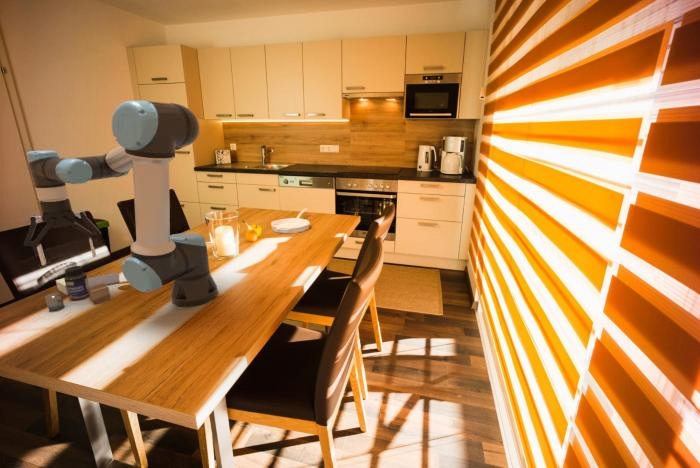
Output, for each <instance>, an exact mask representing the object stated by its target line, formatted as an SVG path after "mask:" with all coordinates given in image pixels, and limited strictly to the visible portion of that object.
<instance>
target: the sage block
mask: <svg viewBox="0 0 700 468" xmlns="http://www.w3.org/2000/svg"><path fill="white" fill-rule="evenodd" d="M64 278H65V277H62V278H60V279H56V280H55V283H56V287H57V290H58V291H59V292H60V293H61V292H62V293H63V294H64V295H66V296H69V295H68V291H67V287H66V283H65V280H64Z"/></svg>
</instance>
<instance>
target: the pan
mask: <svg viewBox="0 0 700 468" xmlns="http://www.w3.org/2000/svg"><path fill="white" fill-rule="evenodd" d="M308 210H309V209H308V208H303V209H302V210H301V211H300V212H299V213H298V215H297V216H296V217H290V218H282V219H278V220H273V221H271V222H270V225H271V230H272V231H273V232H274V233H278V234H287V235H289V234H298V233H302V232H305V231H307V230H309V228H310V225H311V223H310V221H309V220H308V219H304V218H301V216H302V215H303V213H305V212H307V211H308Z"/></svg>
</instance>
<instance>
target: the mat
mask: <svg viewBox="0 0 700 468" xmlns="http://www.w3.org/2000/svg"><path fill="white" fill-rule="evenodd" d="M119 275H120V274H119V272H112V273H108V274H103V275H98V276H92V277H87V279H88V283H89V287H92V286H95V285H99V284H102V283H105V284H106V285H107V286H108V287H109V286H111V285H112V286H113V285H117V284H120V276H119Z"/></svg>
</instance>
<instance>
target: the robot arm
mask: <svg viewBox="0 0 700 468" xmlns="http://www.w3.org/2000/svg"><path fill="white" fill-rule="evenodd" d="M111 133H112V135H113V136H114V137H115V138H116V139H115V142H116V143H118V145H119V146H117V147H116V148H114V149H112V150H110V151H108V152H107V153H104V154H102V155H95V156H94V155H93V156H79V157H63V158H62V157H60V155H59V153H58V152H57V151H55V150H46V149H45V150H44V149H43V150H31V151H28V152H27V153H26V158H27V166H28V168H29V171H30V174H31V178H32V182H33V184H34V187H35V188H34V189H35V192H36V195H37V199H38V200H39V205H40V210H41V212H42V213H41V214H42V215H31V216H30V218H29V220H30V224H29V225H30V226H29V227H28V231H27V233H26V235H25V239H24V241H23V244H22V245H23V246H24V247H31V248H32V250H33V254H34V256H35V257H38V256H39V259H40V263H41V265H42V266H46V264H47V260H46V257H45V254H44V250H43V246H42V244H41V243H40V242H41V240H42V239H43V238H44V236H45V235H46V234H47V233H48V231H49V230H50V229H51V228H55V229H59V228H61V227H62V228H67V227H69V226H71V227H72V228H75V229H76V230H77V231H79V232H81V233H82V234H83V235H86V236H87V237H89V238H88V241H89V246H90V250H91V254H92V258H96V257H97V253H96V249H95V248H97V247H98V241H97V238H98V237H101V236H102V231H101V230H99V228H98V227H97V226H96V225H95V224H94V223H93V221H92V220H90V219H89V217H88V216H87V215H86V212H85V211H84V210H80V211H78V212H74V211H73V209H72V205H71V200H70V199H69V198H68V197H69V193H68V188H67V184H71V185H77V184H78V185H79V184H81V185H82V184H85V183H87V182H89V181H96V180H102V179H103V180H104V179H111V178H121V177H123V176H127V175H128V174H129V172H130V171H131V169H132V181H133V199H134V202H133V203H134V216H135V219H134V220H135V236H136V240H135V241H134V242H133V243H131V244H130V257H126V258H125V259H124V260H123V261H122V263H121V272H122V275H123V276H124V278H125V280H126V281H127V282H128V283H129V285H130V286H131V287H132V288H134V289H136V290H137V291H139V292H144V293H151V292H153V291H155V290H159V289H161V288H162V287H163V286H165V285H167V284H169V283H172V282H173V283H172V286H171V287H172V288H171V293H170V298H171V299H170V300H171V302H172V304H173V305H174V306H177V307H184V308H186V307H188V308H189V307H195V306H196V307H197V306H199V305H203V304H206V303H209V302H210V301H212V300H214V299H215V298H216V297H217V296H218V293H219V290H218V285H217V284H216V282H215V280H214V278H213V275H212V274H211V271H210V270H211V269H210V263H209V257H208V255H209V254H208V248H207V247H208V245H207V241H206V238H205V237H204V235H202V234H200V233H193V232H183V233H175V234H171V221H170V219H171V216H170V213H171V212H170V210H171V203H170V202H171V200H170V162H171V161H172V160H174V159H175V158H176V151H179V150H180V149H183V148H186V147H188V146H190V145H191V144H193V143H194V142H196V141H197V139H198V137H199V135H200V123H199V120H198V118H197V116H196V115H195V114H194V112H193V111H191V110H190V109H189V108H188V107H186V106H184V105H182V104H179V103H174V102H173V103H172V102H171V103H168V102H158V101H150V100H141V99H140V100H127V101H123V102H122V103H120V104H119V105H118V107H116V108H115V110H114V112H113V115H112V117H111ZM75 217H77V218H78V219H81V220H82V222H83V223H85V224H86V226H88V228H90V230H89V229H87V228H86V227H84V226H83V225H82V224H80V223H78V221H76V220H74V219H75ZM40 221H43V222H45V223H46V225H45V227H44V228H42V230H41V232H40V233H38V235H37V236H36V238H35V239H34V240H33V241H32V238H33V236H34V233H35V230H36V226H37V225H38V224H39V223H40ZM39 243H40V244H39Z"/></svg>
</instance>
